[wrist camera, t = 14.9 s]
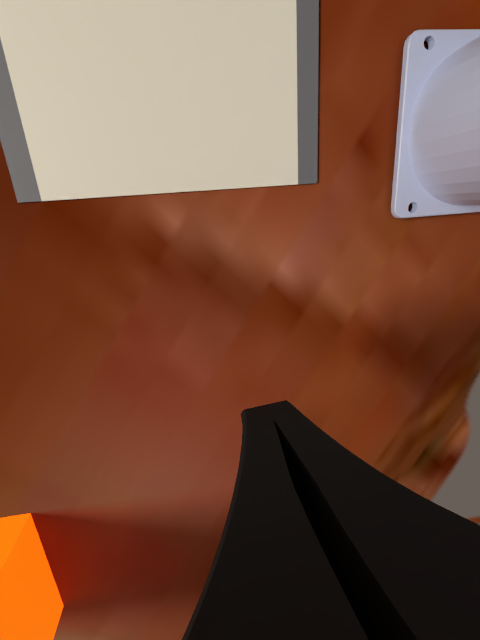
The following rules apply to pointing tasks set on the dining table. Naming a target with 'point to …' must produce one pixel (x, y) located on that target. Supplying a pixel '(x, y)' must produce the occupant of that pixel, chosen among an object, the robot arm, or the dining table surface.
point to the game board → (157, 95)
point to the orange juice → (26, 583)
